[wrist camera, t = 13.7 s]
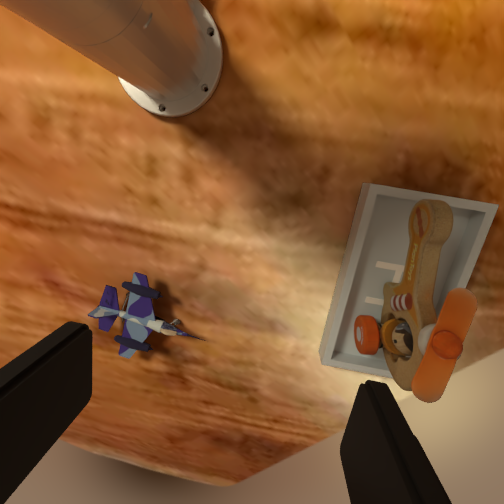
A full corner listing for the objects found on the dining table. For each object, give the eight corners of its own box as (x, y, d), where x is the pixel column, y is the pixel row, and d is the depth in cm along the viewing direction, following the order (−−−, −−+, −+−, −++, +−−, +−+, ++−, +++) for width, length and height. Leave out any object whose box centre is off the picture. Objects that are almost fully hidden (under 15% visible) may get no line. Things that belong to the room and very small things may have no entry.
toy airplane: (213, 332, 41) (207, 346, 38) (136, 361, 44) (124, 377, 41) (171, 253, 39) (160, 261, 35) (91, 289, 42) (74, 300, 38)
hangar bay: (362, 182, 34) (370, 183, 31) (480, 202, 34) (499, 204, 31) (318, 351, 41) (321, 364, 38) (416, 369, 40) (426, 385, 37)
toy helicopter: (350, 346, 39) (387, 433, 26) (370, 194, 34) (429, 206, 20) (411, 350, 38) (482, 442, 25) (442, 196, 33) (551, 209, 20)
